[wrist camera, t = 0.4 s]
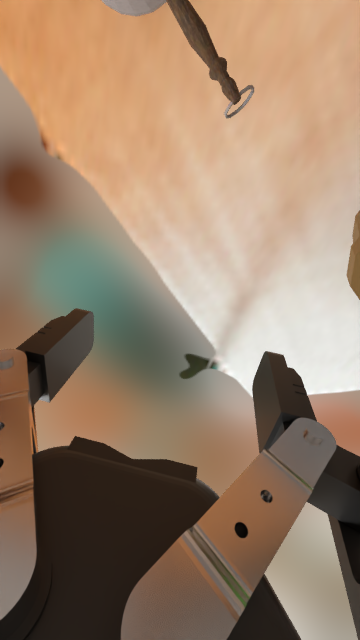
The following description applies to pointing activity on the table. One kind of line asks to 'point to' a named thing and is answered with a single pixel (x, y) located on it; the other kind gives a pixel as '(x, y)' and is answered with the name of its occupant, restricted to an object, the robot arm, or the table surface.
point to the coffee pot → (190, 41)
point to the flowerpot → (355, 259)
